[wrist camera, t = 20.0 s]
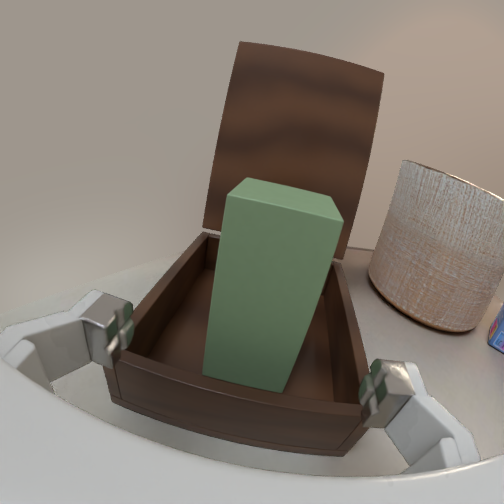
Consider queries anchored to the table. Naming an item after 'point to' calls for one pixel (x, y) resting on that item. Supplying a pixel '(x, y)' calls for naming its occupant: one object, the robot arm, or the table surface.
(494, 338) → the ink cartridge box
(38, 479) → the robot arm
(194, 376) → the chest
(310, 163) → the chest lid
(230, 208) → the block
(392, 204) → the planter
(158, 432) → the table surface
